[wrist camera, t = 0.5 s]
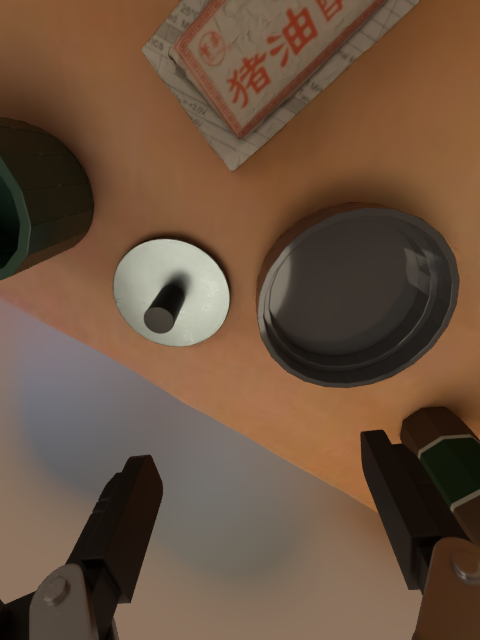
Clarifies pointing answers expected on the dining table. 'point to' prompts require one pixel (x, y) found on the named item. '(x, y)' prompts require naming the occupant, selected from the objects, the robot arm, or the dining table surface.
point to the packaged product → (260, 61)
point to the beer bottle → (448, 461)
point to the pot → (39, 197)
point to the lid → (171, 292)
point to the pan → (355, 294)
